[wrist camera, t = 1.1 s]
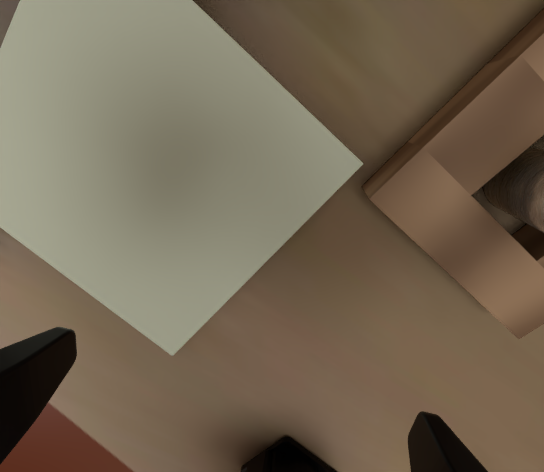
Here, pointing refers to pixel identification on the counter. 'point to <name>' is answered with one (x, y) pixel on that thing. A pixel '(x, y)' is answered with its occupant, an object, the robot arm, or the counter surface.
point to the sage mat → (153, 157)
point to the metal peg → (520, 188)
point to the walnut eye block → (476, 183)
